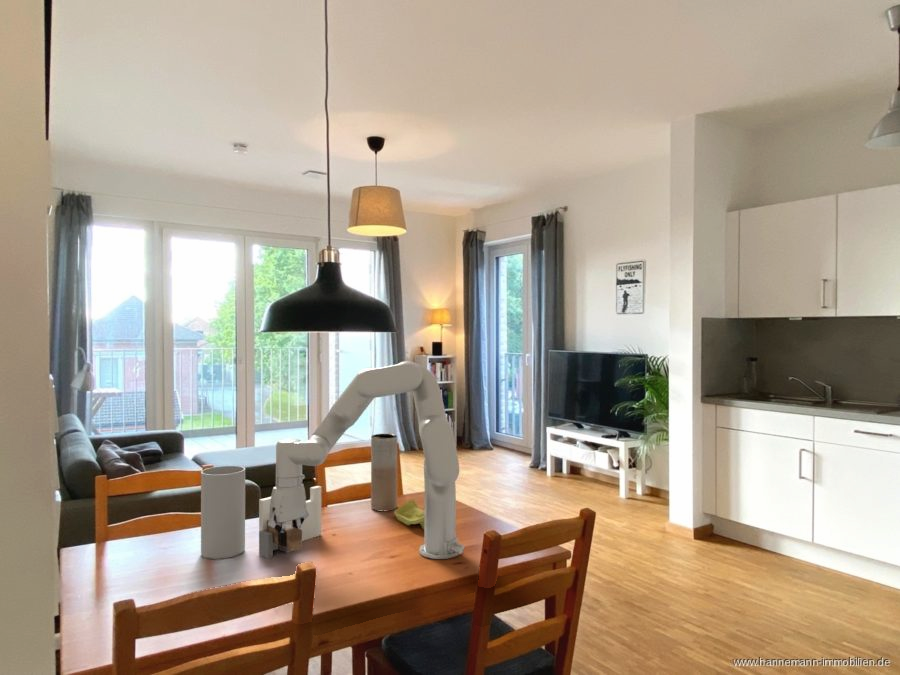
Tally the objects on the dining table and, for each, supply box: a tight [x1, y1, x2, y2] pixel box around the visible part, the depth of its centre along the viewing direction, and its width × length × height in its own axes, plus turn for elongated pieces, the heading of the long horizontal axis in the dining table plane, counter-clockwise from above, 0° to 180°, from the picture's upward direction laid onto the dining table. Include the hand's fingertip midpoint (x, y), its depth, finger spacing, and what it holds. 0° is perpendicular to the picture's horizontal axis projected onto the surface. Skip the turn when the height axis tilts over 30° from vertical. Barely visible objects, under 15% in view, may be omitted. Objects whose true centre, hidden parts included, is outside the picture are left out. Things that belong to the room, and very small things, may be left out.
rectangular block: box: [267, 520, 303, 552], centre depth 173 cm, size 13×4×6 cm, turn 50°
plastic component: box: [393, 499, 424, 530], centre depth 205 cm, size 20×7×10 cm
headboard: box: [258, 485, 322, 559], centre depth 183 cm, size 7×23×16 cm, turn 140°
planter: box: [370, 433, 398, 512], centre depth 224 cm, size 10×10×28 cm
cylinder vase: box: [200, 465, 246, 560], centre depth 177 cm, size 12×12×25 cm
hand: (288, 542), depth 172 cm, fingers closed on rectangular block, 3 cm apart
